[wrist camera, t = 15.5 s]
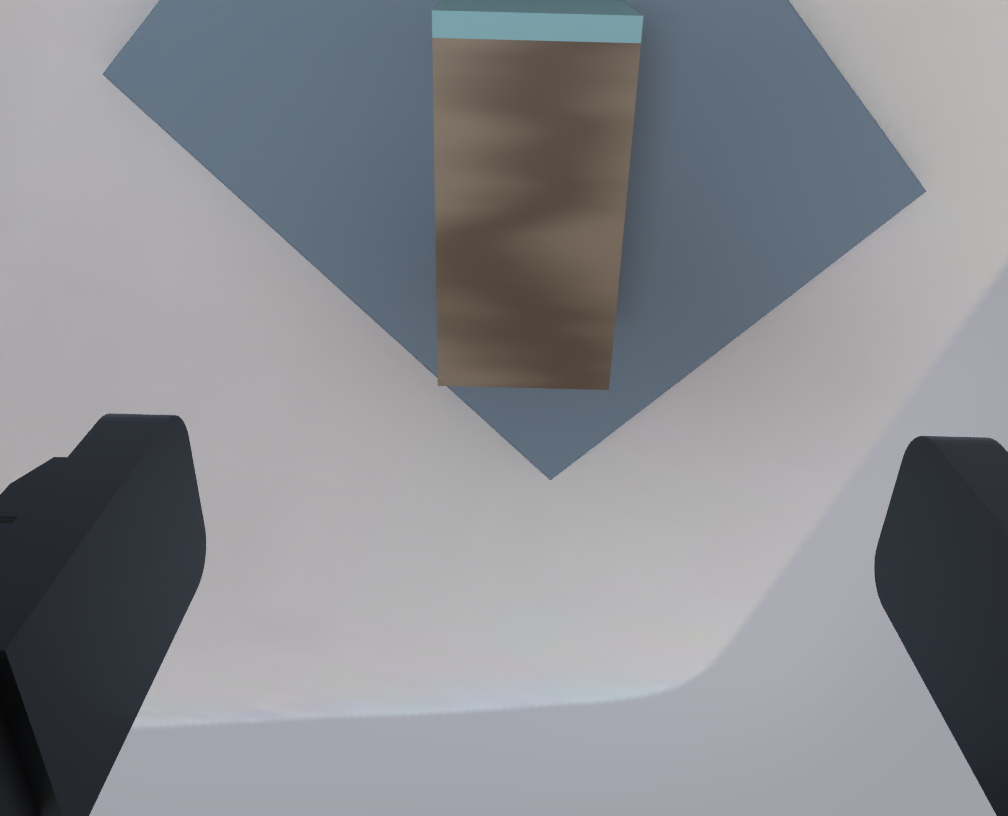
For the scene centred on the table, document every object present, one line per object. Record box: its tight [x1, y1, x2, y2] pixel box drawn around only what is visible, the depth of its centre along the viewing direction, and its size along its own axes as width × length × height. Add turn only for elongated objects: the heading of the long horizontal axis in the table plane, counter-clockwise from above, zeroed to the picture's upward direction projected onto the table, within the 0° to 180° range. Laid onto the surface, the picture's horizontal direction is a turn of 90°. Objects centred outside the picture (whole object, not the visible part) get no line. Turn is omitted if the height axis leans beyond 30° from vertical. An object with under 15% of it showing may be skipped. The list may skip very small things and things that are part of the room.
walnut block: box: [432, 0, 643, 390], centre depth 25 cm, size 5×5×10 cm
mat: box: [103, 0, 926, 480], centre depth 27 cm, size 20×16×1 cm
